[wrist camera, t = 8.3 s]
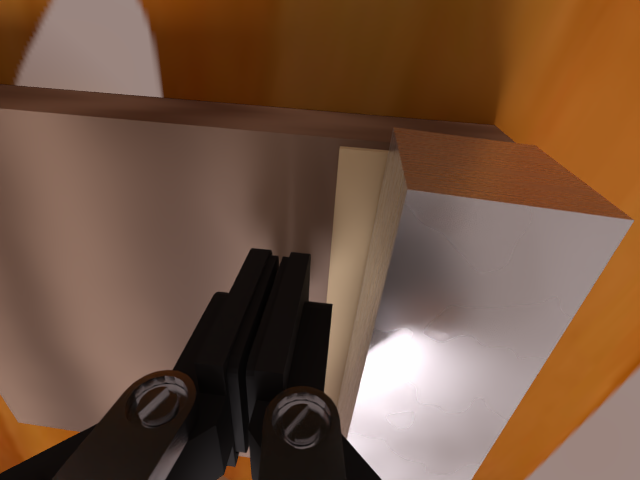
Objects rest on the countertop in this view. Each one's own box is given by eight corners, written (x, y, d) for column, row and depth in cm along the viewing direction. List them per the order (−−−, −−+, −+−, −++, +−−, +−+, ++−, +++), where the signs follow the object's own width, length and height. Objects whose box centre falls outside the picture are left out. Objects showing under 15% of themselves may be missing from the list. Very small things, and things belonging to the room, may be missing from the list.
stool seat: (60, 373, 21) (15, 426, 19) (-83, 77, 13) (-203, 92, 10) (405, 422, 20) (410, 486, 17) (494, 125, 12) (533, 157, 9)
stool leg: (393, 482, 17) (399, 601, 13) (323, 470, 17) (312, 585, 13) (532, 143, 8) (643, 227, 5) (393, 125, 9) (409, 195, 5)
